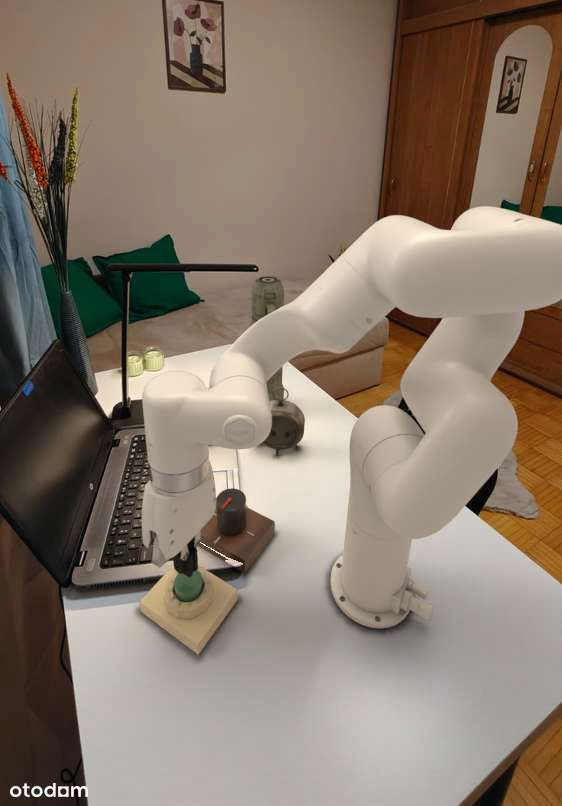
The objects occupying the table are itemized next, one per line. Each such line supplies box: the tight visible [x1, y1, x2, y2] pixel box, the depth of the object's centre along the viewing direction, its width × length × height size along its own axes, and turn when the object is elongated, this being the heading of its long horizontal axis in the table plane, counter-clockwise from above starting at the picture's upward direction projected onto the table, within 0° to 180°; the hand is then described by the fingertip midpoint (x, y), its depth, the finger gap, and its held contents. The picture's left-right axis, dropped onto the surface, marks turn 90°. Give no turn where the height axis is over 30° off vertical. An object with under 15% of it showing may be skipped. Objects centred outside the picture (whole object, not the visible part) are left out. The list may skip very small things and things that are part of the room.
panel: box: [198, 497, 276, 575], centre depth 76 cm, size 12×9×3 cm
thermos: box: [248, 275, 285, 401], centre depth 107 cm, size 9×12×35 cm
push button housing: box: [139, 564, 239, 656], centre depth 65 cm, size 11×9×4 cm
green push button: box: [174, 570, 203, 602], centre depth 64 cm, size 4×4×2 cm
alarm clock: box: [258, 387, 306, 457], centre depth 96 cm, size 11×5×16 cm, turn 84°
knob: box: [216, 488, 247, 536], centre depth 75 cm, size 5×5×6 cm
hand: (185, 568), depth 63 cm, fingers closed
